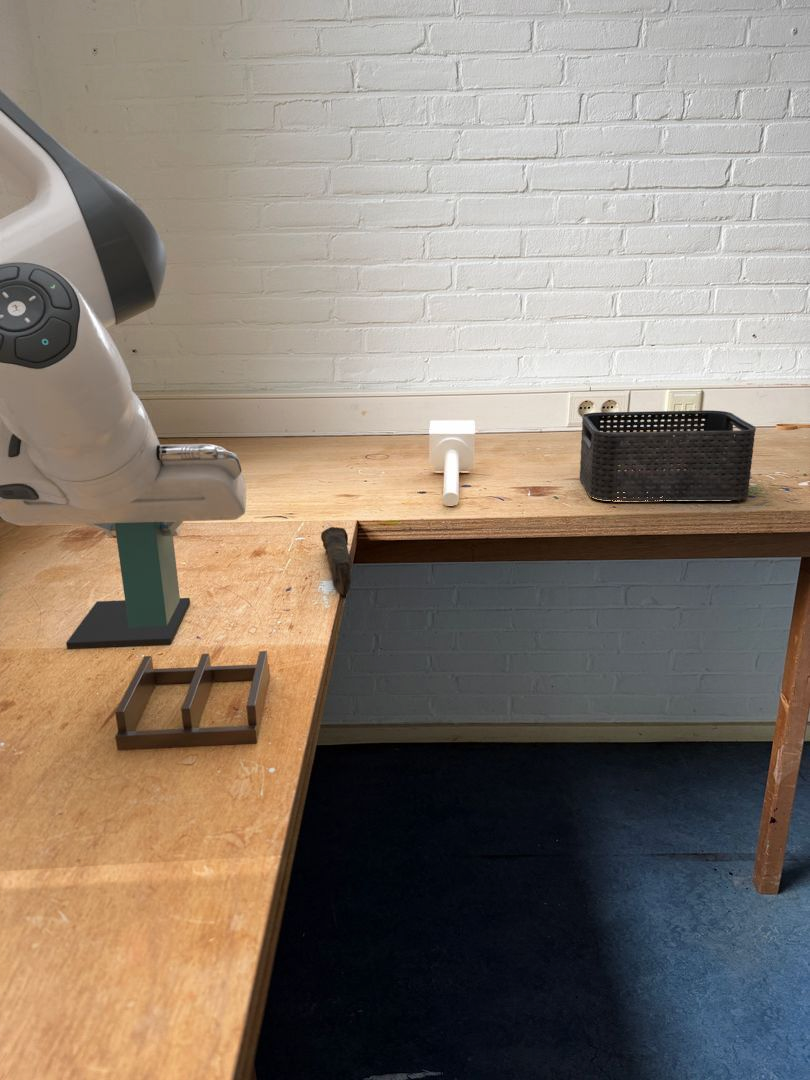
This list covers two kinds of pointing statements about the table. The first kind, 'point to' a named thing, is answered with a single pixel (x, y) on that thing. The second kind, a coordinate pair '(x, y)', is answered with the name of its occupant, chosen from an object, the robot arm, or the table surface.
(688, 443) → the storage bin
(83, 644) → the rubber mat
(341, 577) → the hand tool
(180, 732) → the slot rack
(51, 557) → the table surface
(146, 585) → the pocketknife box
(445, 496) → the paper towel holder
